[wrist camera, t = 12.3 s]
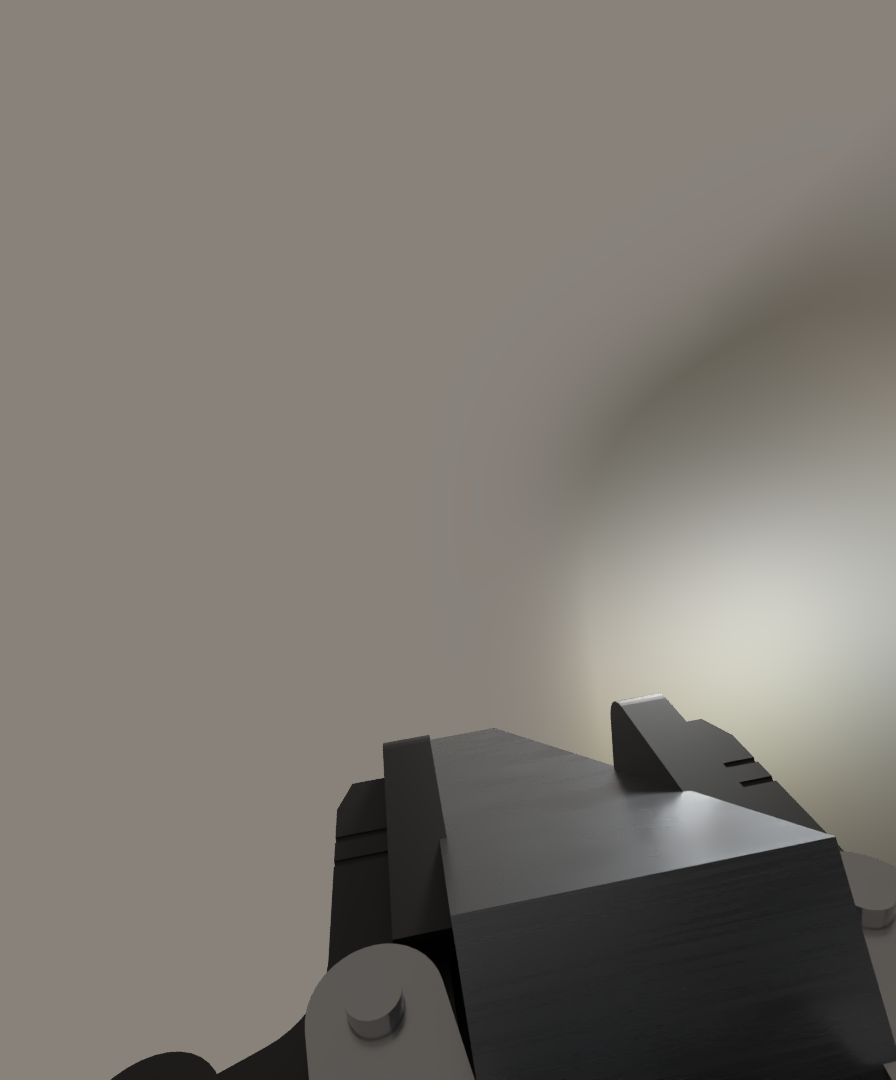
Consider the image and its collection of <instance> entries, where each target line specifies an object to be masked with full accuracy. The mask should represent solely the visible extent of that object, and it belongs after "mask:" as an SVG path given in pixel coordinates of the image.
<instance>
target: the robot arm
mask: <svg viewBox="0 0 896 1080" xmlns="http://www.w3.org/2000/svg"><path fill="white" fill-rule="evenodd" d="M611 727H612V728H611V729H612V744H613V759H614V769H616V770H619V771H622V772H625V773H628V774H631V775H634V776H637V777H640V778H643V779H646V780H649V781H652V782H655V783H658V784H661V785H664V786H667V787H670V788H673V789H676V790H679V791H682V792H685V791H690V790H691V791H694V792H697V793H700V794H703V795H706V796H709V797H713V798H716V799H719V800H722V801H725V802H728V803H731V804H735V805H738V806H741V807H744V808H747V809H750V810H753V811H757V812H760V813H763V814H766V815H769V816H772V817H776V818H779V819H782V820H785V821H788V822H791V823H794V824H798V825H801V826H804V827H807V828H810V829H813V830H816V831H820V832H823V833H826V832H825V831H824V830H823V829H822V828H821V827H820V826H819V825H818V824H817V823H816V822H815V821H814V819H813V818H812V817H811V816H810V815H809V814H808V813H807V812H806V811H805V810H804V809H803V808H802V807H801V806H800V805H799V804H798V803H797V802H796V801H795V800H794V799H793V798H792V797H791V796H790V795H789V794H788V792H786V790H785V789H784V788H782V786H781V785H780V784H779V783H778V782H777V781H773V780H772V776H771V775H770V774H769V773H768V772H767V771H766V770H765V769H764V768H763V766H762V765H761V764H760V763H759V762H755V761H754V757H753V756H752V755H751V754H750V753H749V752H748V751H747V750H746V749H745V748H744V747H743V746H742V745H741V744H740V743H739V742H738V741H737V739H736V738H735V737H734V736H733V735H731V734H729V733H727V732H725V731H723V730H721V729H720V728H718V727H716V726H714V725H712V724H710V723H708V722H706V721H704V720H702V719H699V720H694V721H689V722H686V721H685V720H684V718H683V717H682V716H681V715H680V714H679V713H678V712H677V710H676V709H675V708H674V707H673V706H672V705H671V704H670V703H669V701H668V700H667V699H666V698H665V697H664V696H663V695H661V694H653V695H647V696H642V697H636V698H631V699H625V700H620V701H615V702H613V703H612V706H611ZM383 759H384V777H385V778H382V779H376V780H371V781H365V782H360V783H355V784H352V786H351V787H350V789H349V791H348V793H347V794H346V796H345V798H344V799H343V801H342V803H341V804H340V806H339V808H338V809H337V823H336V824H337V825H336V843H335V858H334V862H335V867H334V875H333V891H332V909H331V927H330V943H329V961H328V968H327V973H326V975H324V977H323V978H322V979H321V981H320V982H319V984H318V985H317V987H316V988H315V991H314V992H313V994H312V996H311V999H310V1001H309V1004H308V1007H307V1011H306V1014H305V1015H304V1016H303V1018H302V1019H301V1020H300V1021H299V1022H298V1023H297V1024H296V1025H295V1026H294V1027H293V1028H292V1029H291V1030H290V1031H288V1032H287V1033H286V1034H285V1035H283V1036H282V1037H281V1038H280V1039H278V1040H277V1041H275V1042H273V1043H272V1044H270V1045H269V1046H267V1047H265V1048H264V1049H262V1050H260V1051H258V1052H256V1053H255V1054H253V1055H251V1056H249V1057H247V1058H246V1059H244V1060H242V1061H240V1062H238V1063H236V1064H235V1065H233V1066H231V1067H229V1068H227V1069H226V1070H224V1071H222V1072H220V1073H218V1074H216V1071H215V1070H214V1069H213V1068H212V1066H211V1065H210V1064H209V1063H208V1062H207V1061H205V1060H204V1059H203V1058H201V1057H199V1056H197V1055H194V1054H192V1053H186V1052H167V1053H163V1054H158V1055H154V1056H152V1057H149V1058H146V1059H144V1060H142V1061H139V1062H138V1063H136V1064H134V1065H132V1066H130V1067H128V1068H127V1069H125V1070H124V1071H122V1072H121V1073H119V1074H118V1075H116V1076H115V1077H114V1078H112V1079H111V1080H476V1074H475V1068H474V1061H473V1055H472V1049H471V1042H470V1036H469V1030H468V1023H467V1017H466V1011H465V1004H464V998H463V992H462V985H461V979H460V973H459V966H458V960H457V954H456V947H455V941H454V935H453V928H452V922H451V916H450V909H449V902H448V895H447V888H446V881H445V874H444V867H443V860H442V854H441V847H440V839H445V838H447V836H446V830H445V824H444V818H443V812H442V806H441V801H440V795H439V789H438V783H437V777H436V771H435V766H434V760H433V754H432V748H431V742H430V737H429V735H426V736H421V737H415V738H410V739H404V740H399V741H394V742H389V743H384V744H383ZM826 834H827V833H826ZM838 847H839V851H840V854H841V858H842V861H843V864H844V868H845V871H846V875H847V878H848V882H849V885H850V889H851V892H852V896H853V899H854V903H855V906H856V909H857V913H858V916H859V920H860V923H861V927H862V930H863V934H864V937H865V941H866V944H867V948H868V951H869V955H870V958H871V961H872V965H873V968H874V972H875V975H876V979H877V982H878V986H879V989H880V993H881V996H882V1000H883V1003H884V1006H885V1010H886V1013H887V1017H888V1020H889V1024H890V1027H891V1031H892V1034H893V1038H894V1041H895V1045H896V868H895V867H894V866H892V865H890V864H888V863H886V862H883V861H881V860H878V859H875V858H872V857H869V856H866V855H862V854H857V853H852V852H844V851H843V850H842V849H841V848H840V846H839V845H838ZM883 1066H884V1071H885V1075H886V1080H896V1061H895V1062H890V1063H886V1064H883Z"/></svg>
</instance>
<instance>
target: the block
mask: <svg viewBox="0 0 896 1080" xmlns="http://www.w3.org/2000/svg"><path fill="white" fill-rule="evenodd" d="M430 742H431V748H432V754H433V760H434V766H435V771H436V777H437V783H438V789H439V795H440V801H441V806H442V812H443V818H444V824H445V830H446V836H447V838H445V839H440V847H441V854H442V860H443V867H444V874H445V881H446V888H447V895H448V902H449V909H450V916H451V922H452V928H453V935H454V941H455V947H456V954H457V960H458V966H459V973H460V979H461V985H462V992H463V998H464V1004H465V1011H466V1017H467V1023H468V1030H469V1036H470V1042H471V1049H472V1055H473V1061H474V1068H475V1074H476V1080H886V1075H885V1071H884V1066H883V1064H886V1063H890V1062H895V1061H896V1045H895V1041H894V1038H893V1034H892V1031H891V1027H890V1024H889V1020H888V1017H887V1013H886V1010H885V1006H884V1003H883V1000H882V996H881V993H880V989H879V986H878V982H877V979H876V975H875V972H874V968H873V965H872V961H871V958H870V955H869V951H868V948H867V944H866V941H865V937H864V934H863V930H862V927H861V923H860V920H859V916H858V913H857V909H856V906H855V903H854V899H853V896H852V892H851V889H850V885H849V882H848V878H847V875H846V871H845V868H844V864H843V861H842V858H841V854H840V851H839V847H838V844H837V840H836V837H835V836H832V835H829V834H826V833H823V832H820V831H816V830H813V829H810V828H807V827H804V826H801V825H798V824H794V823H791V822H788V821H785V820H782V819H779V818H776V817H772V816H769V815H766V814H763V813H760V812H757V811H753V810H750V809H747V808H744V807H741V806H738V805H735V804H731V803H728V802H725V801H722V800H719V799H716V798H713V797H709V796H706V795H703V794H700V793H697V792H694V791H691V790H690V791H685V792H682V791H679V790H676V789H673V788H670V787H667V786H664V785H661V784H658V783H655V782H652V781H649V780H646V779H643V778H640V777H637V776H634V775H631V774H628V773H625V772H622V771H619V770H616V769H614V766H612V765H609V764H606V763H602V762H599V761H596V760H593V759H589V758H586V757H583V756H580V755H577V754H574V753H571V752H568V751H564V750H561V749H558V748H555V747H552V746H549V745H546V744H543V743H539V742H536V741H533V740H530V739H527V738H524V737H521V736H517V735H514V734H511V733H508V732H505V731H502V730H498V729H495V728H493V729H487V730H481V731H476V732H471V733H465V734H460V735H454V736H449V737H444V738H438V739H433V740H430Z"/></svg>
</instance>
